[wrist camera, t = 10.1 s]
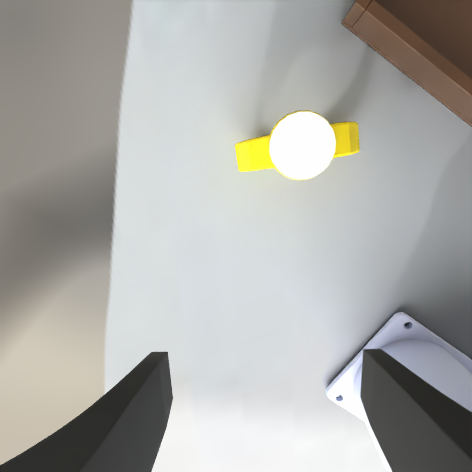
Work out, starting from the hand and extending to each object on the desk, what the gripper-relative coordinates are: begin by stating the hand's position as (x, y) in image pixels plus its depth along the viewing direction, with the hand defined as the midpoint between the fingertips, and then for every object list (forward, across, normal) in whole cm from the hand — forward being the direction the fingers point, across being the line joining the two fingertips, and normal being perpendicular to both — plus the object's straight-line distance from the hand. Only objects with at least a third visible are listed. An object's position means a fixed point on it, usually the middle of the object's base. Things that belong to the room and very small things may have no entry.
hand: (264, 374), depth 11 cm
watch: (+10, -2, -8) cm, 13 cm away
